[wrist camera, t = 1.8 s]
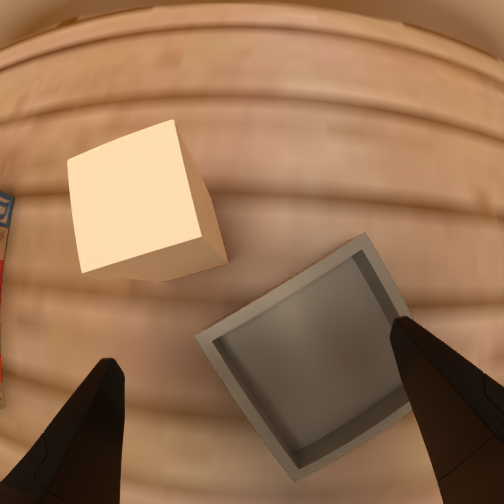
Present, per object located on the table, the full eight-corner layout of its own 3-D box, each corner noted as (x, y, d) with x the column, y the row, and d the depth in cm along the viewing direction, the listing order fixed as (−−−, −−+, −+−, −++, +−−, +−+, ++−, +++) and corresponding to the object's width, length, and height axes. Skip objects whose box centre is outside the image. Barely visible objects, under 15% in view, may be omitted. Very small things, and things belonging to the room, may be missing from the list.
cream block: (229, 263, 23) (201, 236, 11) (164, 281, 23) (82, 273, 11) (211, 198, 24) (173, 119, 12) (149, 218, 24) (67, 160, 12)
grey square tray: (289, 459, 21) (294, 481, 18) (203, 329, 23) (194, 336, 19) (422, 374, 22) (443, 384, 19) (350, 240, 23) (365, 232, 20)
